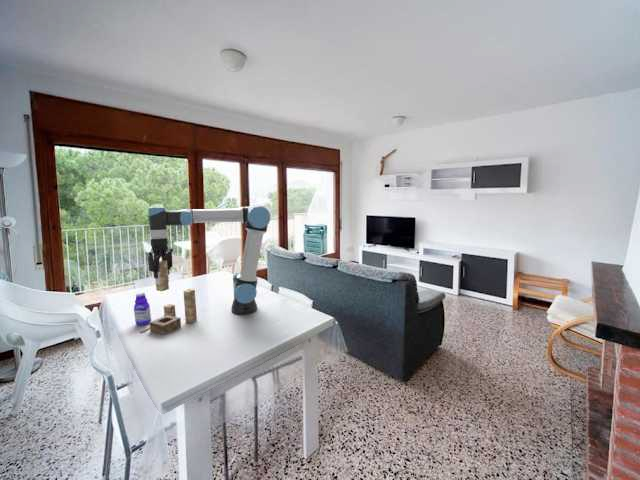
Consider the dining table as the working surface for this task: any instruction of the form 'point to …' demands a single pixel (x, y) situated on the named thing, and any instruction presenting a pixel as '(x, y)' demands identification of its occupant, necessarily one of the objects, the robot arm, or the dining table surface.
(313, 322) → the dining table surface
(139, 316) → the bottle
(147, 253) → the robot arm
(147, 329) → the strip
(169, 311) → the peg short
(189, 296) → the peg long
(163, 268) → the peg medium
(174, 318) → the hole block
